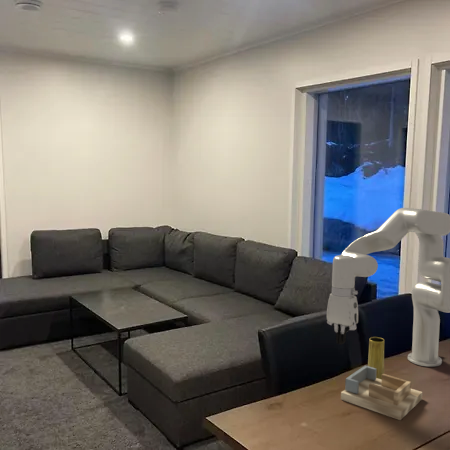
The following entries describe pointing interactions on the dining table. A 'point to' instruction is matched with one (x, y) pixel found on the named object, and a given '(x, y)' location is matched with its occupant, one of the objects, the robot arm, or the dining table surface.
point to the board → (385, 396)
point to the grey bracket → (359, 378)
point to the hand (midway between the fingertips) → (340, 343)
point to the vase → (376, 355)
